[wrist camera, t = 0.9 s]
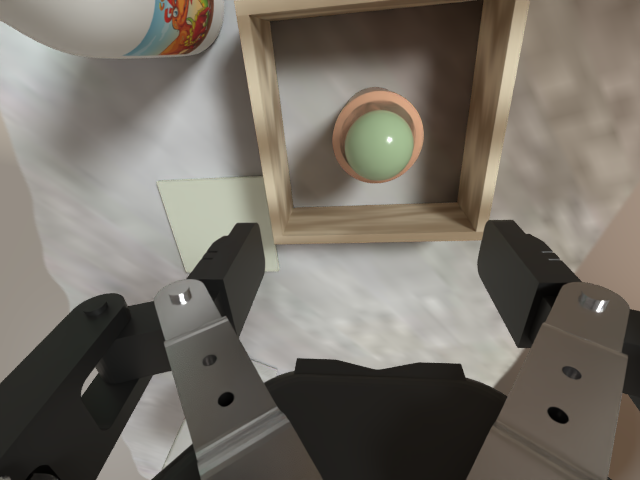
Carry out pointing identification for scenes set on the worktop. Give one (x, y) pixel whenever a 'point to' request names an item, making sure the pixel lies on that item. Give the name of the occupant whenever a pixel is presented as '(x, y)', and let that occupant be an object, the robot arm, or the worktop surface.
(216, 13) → the milk bottle
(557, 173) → the worktop surface
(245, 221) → the sage mat
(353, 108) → the terracotta pot
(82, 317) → the robot arm
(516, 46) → the wooden shadow box
